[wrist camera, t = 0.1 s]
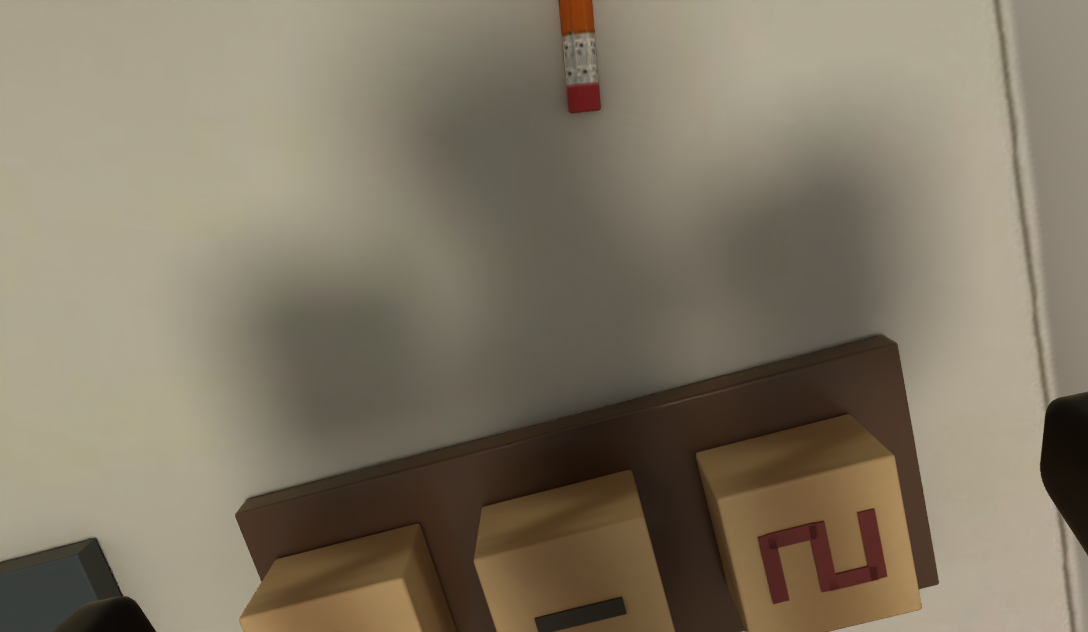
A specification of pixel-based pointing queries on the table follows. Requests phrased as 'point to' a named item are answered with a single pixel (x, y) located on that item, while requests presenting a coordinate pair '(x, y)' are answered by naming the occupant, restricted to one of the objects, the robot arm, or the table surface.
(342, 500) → the strip
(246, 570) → the table surface
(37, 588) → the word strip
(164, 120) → the table surface
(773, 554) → the number block
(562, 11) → the pencil
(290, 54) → the table surface
